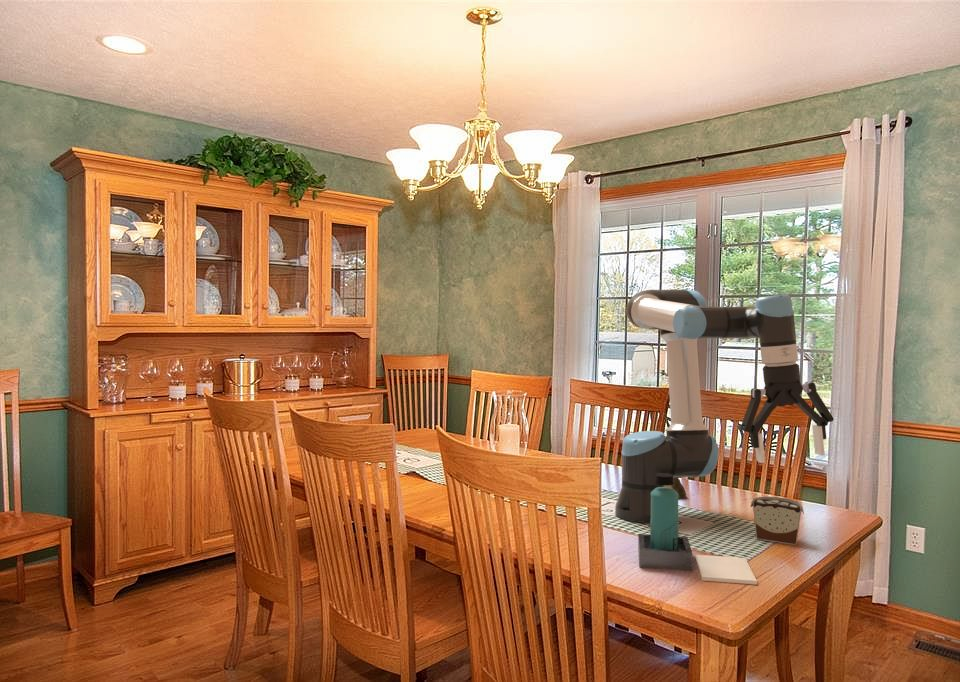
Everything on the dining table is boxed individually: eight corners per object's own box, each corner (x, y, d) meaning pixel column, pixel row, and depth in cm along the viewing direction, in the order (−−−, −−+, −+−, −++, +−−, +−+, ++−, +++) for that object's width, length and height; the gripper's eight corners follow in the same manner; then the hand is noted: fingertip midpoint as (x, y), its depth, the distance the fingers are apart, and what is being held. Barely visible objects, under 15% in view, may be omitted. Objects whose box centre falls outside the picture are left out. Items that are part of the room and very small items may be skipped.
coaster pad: (695, 557, 160) (695, 554, 160) (745, 561, 158) (745, 557, 158) (702, 580, 146) (702, 576, 146) (756, 584, 144) (756, 580, 144)
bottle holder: (638, 550, 165) (638, 533, 165) (687, 553, 163) (687, 536, 163) (639, 567, 154) (639, 549, 154) (692, 571, 152) (692, 553, 152)
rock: (643, 483, 222) (653, 487, 212) (658, 462, 223) (669, 464, 213) (670, 504, 222) (681, 508, 212) (685, 482, 223) (697, 485, 213)
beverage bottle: (675, 567, 154) (676, 478, 153) (645, 562, 157) (646, 475, 157) (681, 558, 160) (682, 473, 159) (653, 553, 163) (654, 470, 162)
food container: (805, 539, 174) (806, 500, 173) (803, 546, 168) (803, 505, 168) (753, 531, 180) (754, 493, 180) (749, 538, 175) (750, 499, 174)
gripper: (732, 371, 149) (743, 468, 150) (844, 358, 150) (854, 454, 151) (719, 369, 157) (729, 461, 157) (825, 357, 158) (835, 448, 158)
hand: (790, 458), depth 154 cm, fingers open, 13 cm apart
